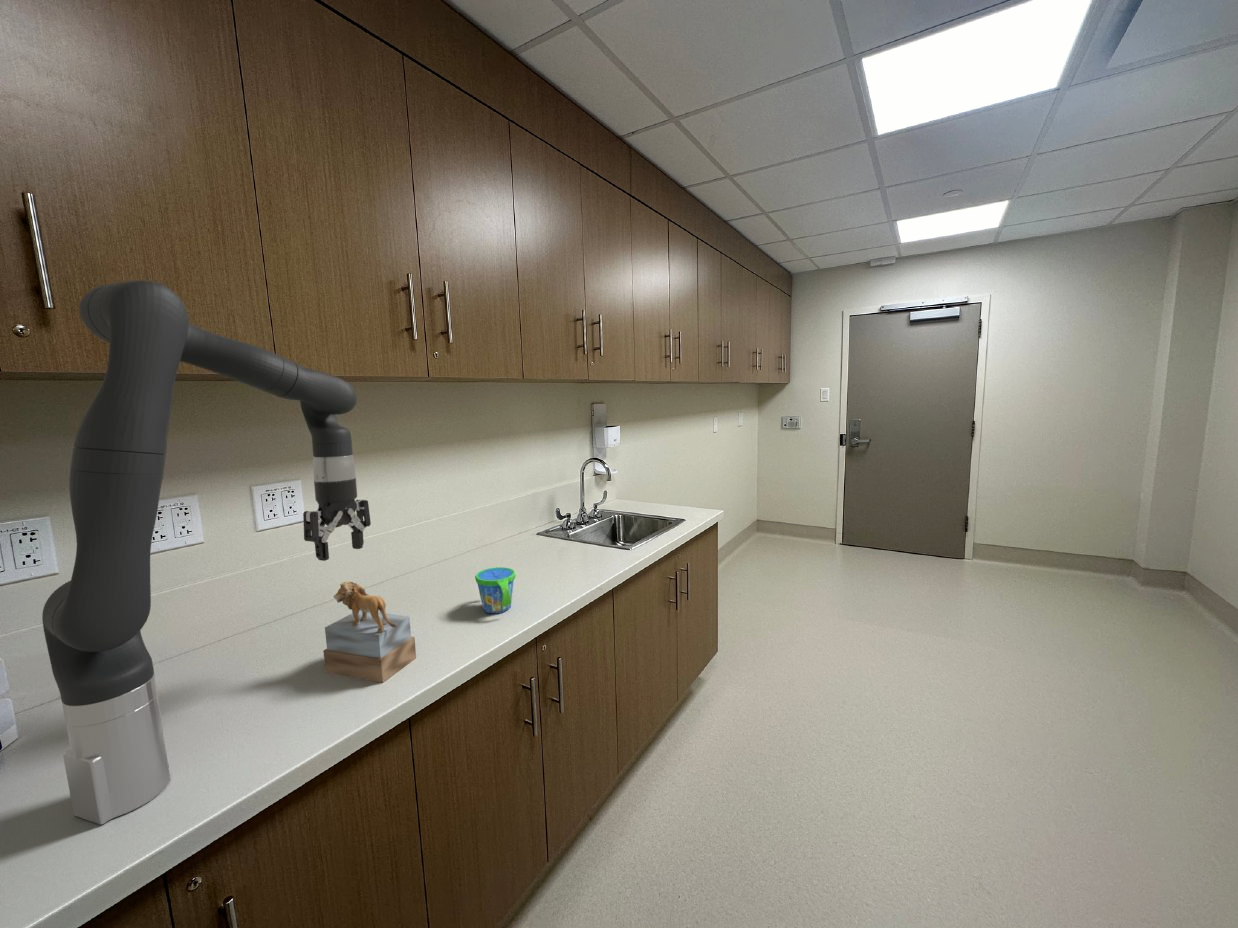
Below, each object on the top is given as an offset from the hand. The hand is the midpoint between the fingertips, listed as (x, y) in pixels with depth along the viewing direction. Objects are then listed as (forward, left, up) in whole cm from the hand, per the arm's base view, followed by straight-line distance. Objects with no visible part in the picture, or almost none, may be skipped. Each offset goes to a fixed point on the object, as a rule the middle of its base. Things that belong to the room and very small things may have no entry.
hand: (341, 553), depth 103 cm
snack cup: (+35, -15, -26) cm, 46 cm away
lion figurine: (+1, -4, -16) cm, 16 cm away
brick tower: (+2, -3, -26) cm, 26 cm away
